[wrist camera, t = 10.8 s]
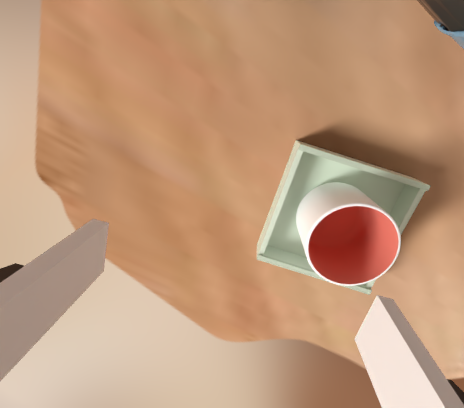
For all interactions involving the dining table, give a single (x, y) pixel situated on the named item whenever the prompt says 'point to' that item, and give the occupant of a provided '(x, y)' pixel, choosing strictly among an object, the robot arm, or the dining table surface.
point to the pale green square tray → (318, 173)
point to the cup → (346, 234)
